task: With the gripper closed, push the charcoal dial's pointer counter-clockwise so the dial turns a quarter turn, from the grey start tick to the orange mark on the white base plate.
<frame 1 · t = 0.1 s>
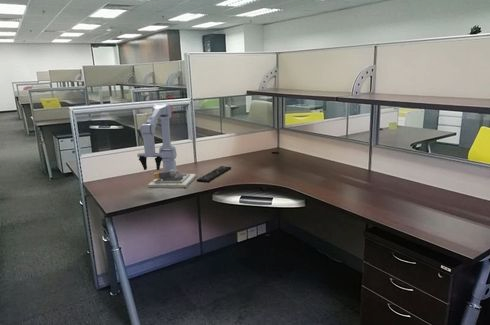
hand: (151, 169, 200), 10 cm above the table, tool pointing down, fingers open, 7 cm apart
white base plate: (173, 181, 211), on the table
black keyboard: (215, 175, 223), on the table
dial: (168, 175, 209), point 4 cm above the table, hinge at 0.0°
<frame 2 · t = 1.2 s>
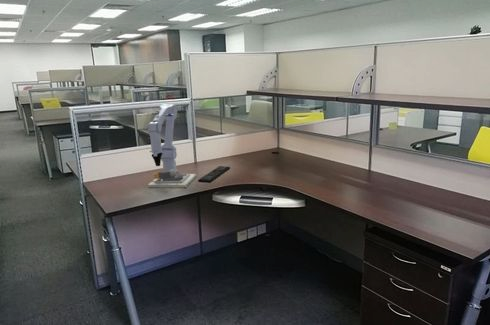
hand: (158, 165, 211), 9 cm above the table, tool pointing down, fingers closed
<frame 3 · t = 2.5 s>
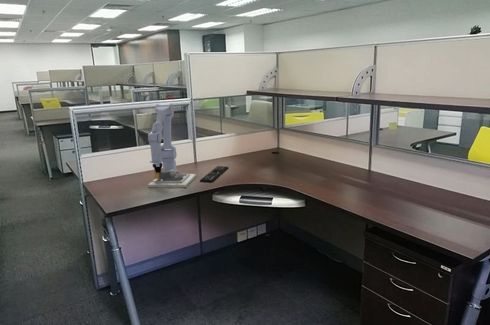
hand: (158, 175, 209), 4 cm above the table, tool pointing down, fingers closed
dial: (168, 175, 209), point 4 cm above the table, hinge at 0.0°, touching gripper
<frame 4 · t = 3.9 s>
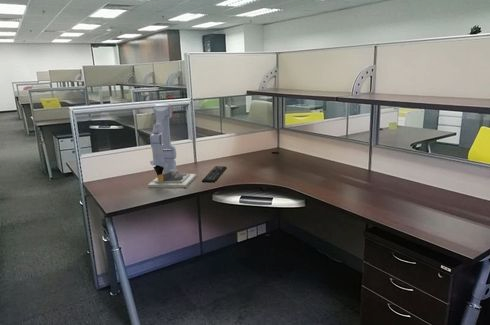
hand: (160, 178, 205), 4 cm above the table, tool pointing down, fingers closed, pressing on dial
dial: (169, 175, 208), point 4 cm above the table, hinge at 31.9°, touching gripper
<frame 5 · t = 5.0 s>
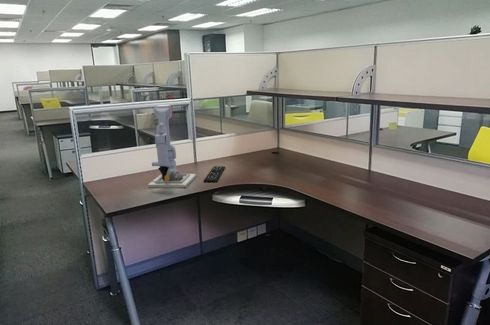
hand: (164, 179, 203), 4 cm above the table, tool pointing down, fingers closed, pressing on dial
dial: (171, 175, 208), point 4 cm above the table, hinge at 59.2°, touching gripper
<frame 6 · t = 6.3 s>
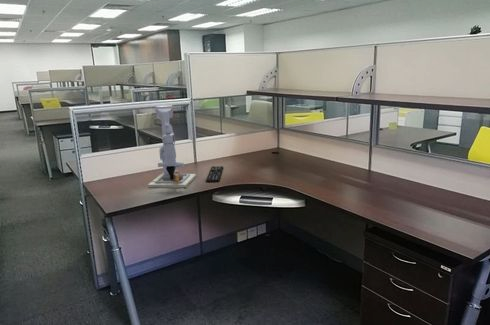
hand: (172, 179, 202), 4 cm above the table, tool pointing down, fingers closed
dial: (173, 175, 208), point 4 cm above the table, hinge at 92.9°, touching gripper
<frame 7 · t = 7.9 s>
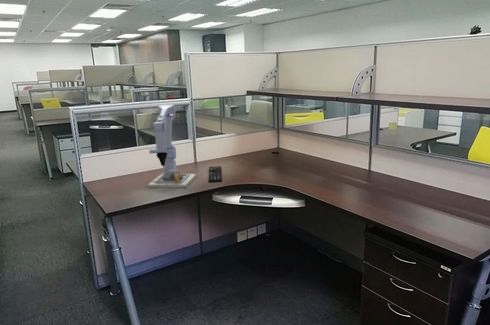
hand: (163, 165, 212), 9 cm above the table, tool pointing down, fingers closed
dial: (173, 175, 208), point 4 cm above the table, hinge at 93.4°
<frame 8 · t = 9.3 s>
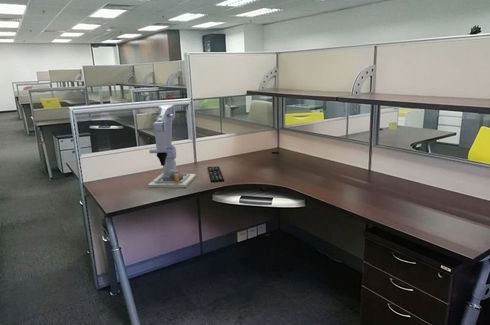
hand: (163, 165, 212), 9 cm above the table, tool pointing down, fingers closed
at the end: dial at +93° (first picture: +0°) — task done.
